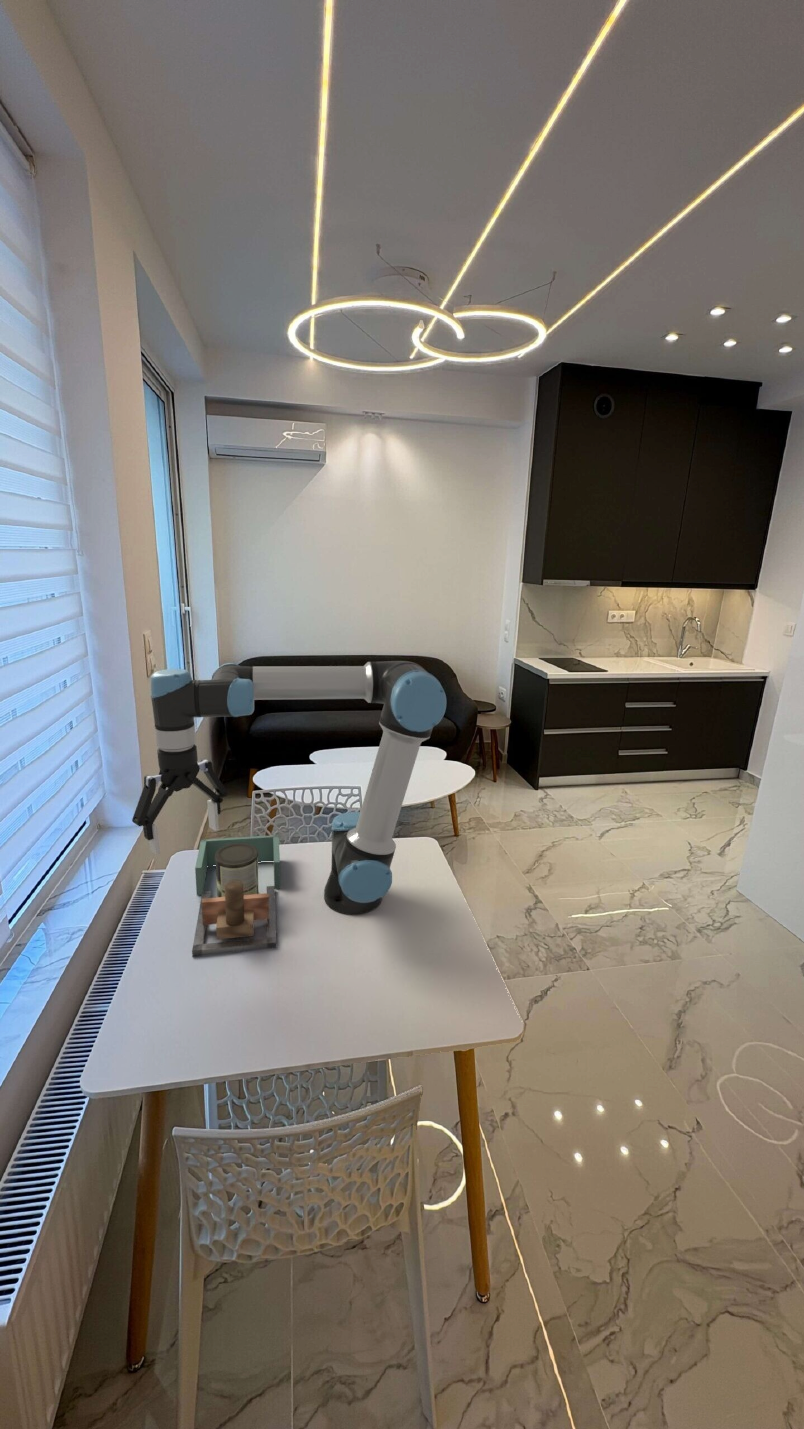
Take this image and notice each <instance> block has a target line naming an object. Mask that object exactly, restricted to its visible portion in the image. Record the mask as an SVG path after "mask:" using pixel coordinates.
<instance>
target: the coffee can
mask: <svg viewBox="0 0 804 1429" xmlns="http://www.w3.org/2000/svg"><path fill="white" fill-rule="evenodd" d="M215 860H216V866H215V874H216V894H217V896H216V897H225V885H226V884H227V883H229V882H232V881H239V882H242V883H243V892H244V895H252V894H260V893H259V865H258V864H259V863H258V849H257V848H256V847H255V846H253V845H250V844H245V843H236V844H230V845H226V846H224V847H222V848H220V849H219V850H218V851H217V852H216V853H215Z"/></svg>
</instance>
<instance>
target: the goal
mask: <svg viewBox="0 0 804 1429" xmlns="http://www.w3.org/2000/svg"><path fill="white" fill-rule="evenodd" d="M279 836H280V835H279V834H276V835H275V834H273V835H257V836H242V837H241V836H239V837H227V838H226V837H225V838H213V839H209V838H208V839H201V840H200V842H199V847H198V853H197V858H196V862H195V866H194V867H195V868H194V869H195V872H194V873H195V890H196V891H195V892H196V896H197V895H198V896H202V892H204V891H205V886H204V885H206V880H205V878H207V874H206V872H208V868H207V866H213V865H216V860H215V853H216V852H217V851H218V850H219V849H220V848H222V847H224V846H226V845H230V844H236V843H245V844H250V845H253V846H255V847H256V848H257V849H258V862H261V861H274V862H273V883H274V884H273V886H274V887H275V890H280V889H281V859H280V855H281V854H280V840H279V839H280V838H279Z"/></svg>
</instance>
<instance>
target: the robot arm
mask: <svg viewBox="0 0 804 1429" xmlns="http://www.w3.org/2000/svg"><path fill="white" fill-rule="evenodd" d="M441 684H442V683H441V682H440V681H439V680H438V678H437V677H436V676H434V675H433V674H432V673H429V672H428V671H427V670H426V669H425V668H423V666H421V665H420V664H418V663H416V662H412V661H407V660H391V661H390V660H387V661H384V660H383V661H367V662H366V663H365V664H364V665H353V666H352V665H351V666H350V665H337V666H336V665H334V666H333V665H329V666H328V665H327V666H326V665H325V666H321V665H320V666H319V665H317V666H315V665H310V666H309V665H308V666H297V665H296V666H294V665H293V666H290V665H289V666H284V665H283V666H282V665H281V666H279V665H278V666H276V665H275V666H274V665H273V666H272V665H271V666H248V665H247V666H246V665H245V666H241V665H239V664H237V663H233V662H228V663H227V662H226V663H223V664H222V665H220V666H219V667H217V668H216V669H215V671H214V672H213V674H212V675H211V679H203V680H202V679H193V678H192V675H191V673H190V671H189V670H187V669H182V668H181V669H179V668H167V669H161V670H157V671H155V672H154V673H153V674H152V675H151V676H150V693H151V694H150V698H151V705H152V706H151V707H152V713H153V721H154V732H155V741H156V742H155V743H156V747H157V748H158V749H157V751H156V753H157V762H158V767H159V772H158V774H156V775H150V774H146V775H144V777H143V788H142V791H141V794H140V796H139V799H138V801H137V806H136V807H135V811H134V813H133V816H132V819H131V821H132V823H133V824H135V825H136V826H138V827H142V828H143V835H144V839H146V840H147V841H148V843H149V844H148V845H149V851H150V852H152V853H153V854H155V855H159V854H161V848H160V839H159V830H158V824H157V823H155V821H156V820H157V817H158V816H159V814H160V813H161V811H162V809H163V808H164V806H165V804H166V803H167V801H168V799H169V798H170V797H171V796H172V795H173V794H174V792H176V793H177V792H180V791H182V790H183V789H188V788H191V787H192V786H195V787H196V788H197V789H198V790H199V791H200V792H202V793H203V794H205V795H206V796H207V797H208V798H209V799H208V800H206V803H207V804H206V805H207V815H208V816H207V817H208V826H209V828H210V829H211V830H212V831H214V832H219V831H220V826H219V815H220V814H221V812H222V811H221V810H222V809H221V804H222V803H223V801H224V797H227V796H228V795H229V793H228V791H227V789H226V787H225V786H224V785H223V783H222V781H221V780H220V778H219V777H218V775H217V774H216V772H215V771H214V767H213V762H212V761H211V760H208V759H206V758H201V760H200V761H199V762H198V748H197V745H196V743H197V734H196V726H195V718H221V717H222V718H223V717H225V718H226V717H233V718H238V717H243V716H251V715H252V714H253V713H254V711H255V701H258V700H262V701H263V700H264V701H265V700H268V701H271V700H273V701H274V700H279V701H281V700H356V699H358V700H360V699H363V700H365V701H366V702H367V703H368V704H369V703H370V704H383V707H382V711H381V713H380V718H379V721H378V724H379V725H380V728H381V729H382V736H381V738H380V739H381V740H380V741H379V746H378V750H377V753H376V757H375V760H374V764H373V767H372V770H371V774H370V777H369V781H368V784H367V788H366V790H365V794H364V798H363V801H362V806H361V808H360V811H350V812H344V813H341V814H338V815H337V816H335V817H333V820H332V821H331V822H332V825H331V867H330V868H331V870H330V873H329V876H328V878H327V881H326V883H325V885H324V891H323V892H324V893H323V895H324V896H323V900H324V902H325V904H326V905H327V907H328V908H329V909H332V910H333V911H335V912H338V913H341V914H346V915H360V914H365V913H369V912H371V911H373V910H375V909H376V908H378V907H379V906H380V905H381V902H382V901H383V897H384V896H385V895H387V893H388V892H389V891H390V889H391V886H392V884H393V871H392V870H391V865H392V862H393V858H394V856H395V851H396V848H397V844H396V842H395V840H394V839H393V835H394V833H395V830H396V827H397V826H396V825H397V822H398V819H399V817H400V812H401V810H402V807H403V804H404V803H403V802H404V800H405V796H406V793H407V789H408V786H409V783H410V780H411V777H412V773H413V770H414V767H415V764H416V760H417V756H418V753H419V750H420V747H421V745H422V742H425V741H427V740H429V739H430V738H431V735H432V732H433V728H434V727H435V726H437V725H438V724H439V723H440V722H441V721H442V720H443V717H444V715H445V713H446V711H447V710H446V709H447V696H446V693H445V690H444V688H443V686H442V685H441ZM200 771H202V772H203V774H204V776H206V778H207V779H208V781H209V782H210V784H211V786H212V787H213V788H214V790H215V791H214V790H212V789H211V788H210V787H208V786H207V785H206V784H205V783H204V782H203V781H201V780H200V779H199V778H198V777H197V776H198V774H199V772H200ZM159 782H161V783H160V785H159ZM158 786H159V787H158ZM157 787H158V789H157ZM156 790H157V793H156V794H155V792H156Z"/></svg>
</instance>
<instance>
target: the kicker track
mask: <svg viewBox="0 0 804 1429" xmlns="http://www.w3.org/2000/svg"><path fill="white" fill-rule="evenodd" d="M275 890H276V889H275V887H274V885H270V886H269V885H267V886H266V893H269V919H266V937H262V938H252V939H251V938H250V939H249V938H248V939H240V940H231V941H230V940H229V941H219V942H210V943H209V942H208V943H205V938H206V931H207V925H203V919H202V899H204V898H212V895H211V893H212V892H211V890H206V891H205V890H204V891H203V892H202V895H200V896H201V897H200V902H199V908H198V916H197V920H196V927H195V932H194V938H193V943H192V950H191V955H192V956H191V957H192V958H194V957H203V956H211V955H212V956H213V955H221V954H233V953H241V952H250V951H251V952H252V951H261V950H269V949H270V950H271V949H276V948H277V926H276V925H277V924H276V923H277V922H276V894H275V893H276V892H275Z"/></svg>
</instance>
